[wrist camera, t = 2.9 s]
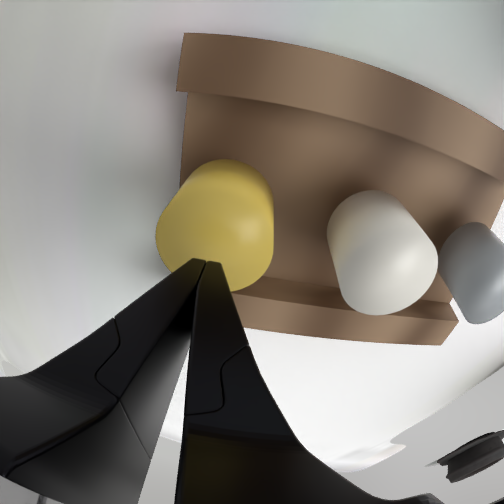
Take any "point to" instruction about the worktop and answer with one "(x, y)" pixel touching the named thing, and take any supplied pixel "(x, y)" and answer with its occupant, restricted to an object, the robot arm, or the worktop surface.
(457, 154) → the key console
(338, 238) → the white key
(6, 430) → the robot arm
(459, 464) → the casserole
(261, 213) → the mustard key
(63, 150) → the worktop surface
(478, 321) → the grey rounded block
